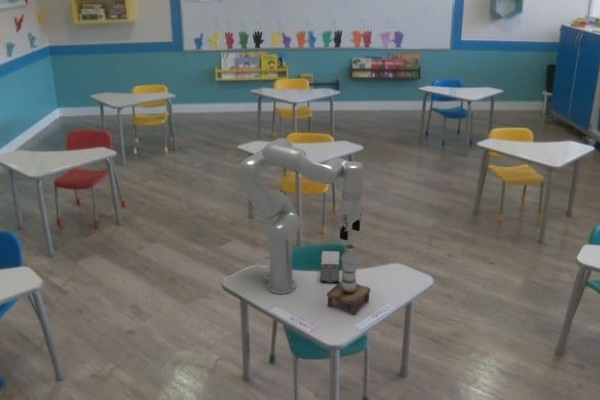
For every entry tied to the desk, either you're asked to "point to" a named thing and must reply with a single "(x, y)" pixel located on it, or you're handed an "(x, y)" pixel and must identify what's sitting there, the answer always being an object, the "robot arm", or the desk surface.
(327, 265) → the toy vehicle
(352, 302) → the walnut stand
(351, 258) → the plastic bottle
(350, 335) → the desk surface
